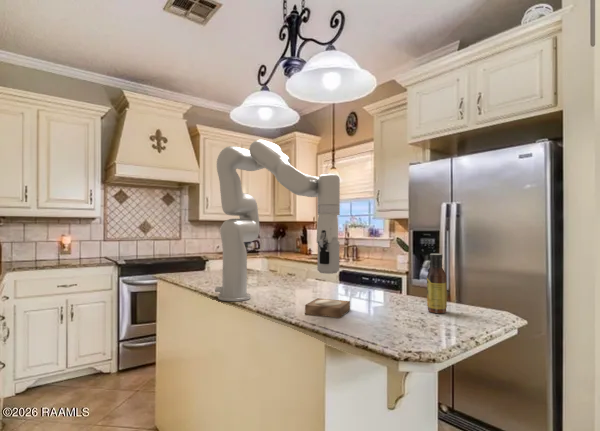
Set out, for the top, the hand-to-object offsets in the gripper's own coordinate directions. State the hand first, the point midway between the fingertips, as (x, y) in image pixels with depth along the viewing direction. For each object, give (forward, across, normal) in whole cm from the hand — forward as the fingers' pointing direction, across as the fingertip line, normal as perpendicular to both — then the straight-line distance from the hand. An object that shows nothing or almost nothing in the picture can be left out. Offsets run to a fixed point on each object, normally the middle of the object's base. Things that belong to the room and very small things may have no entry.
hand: (328, 262), depth 125 cm
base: (+17, 0, 0) cm, 17 cm away
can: (+4, 0, 0) cm, 4 cm away
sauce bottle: (+17, -15, +34) cm, 41 cm away
